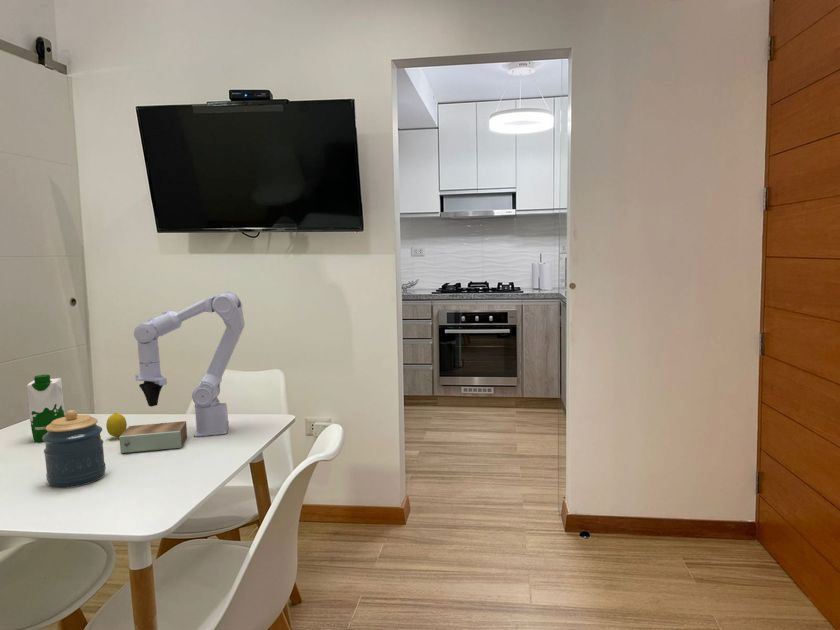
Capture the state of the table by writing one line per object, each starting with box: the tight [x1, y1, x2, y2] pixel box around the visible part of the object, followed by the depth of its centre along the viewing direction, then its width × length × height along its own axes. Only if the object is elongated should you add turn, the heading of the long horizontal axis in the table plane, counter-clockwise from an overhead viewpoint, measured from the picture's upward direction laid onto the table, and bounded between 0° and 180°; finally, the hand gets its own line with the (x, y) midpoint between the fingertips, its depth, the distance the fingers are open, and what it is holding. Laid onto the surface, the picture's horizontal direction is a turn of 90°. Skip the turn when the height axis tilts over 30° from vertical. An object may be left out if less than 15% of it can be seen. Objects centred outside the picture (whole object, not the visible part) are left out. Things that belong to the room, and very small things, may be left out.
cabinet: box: [121, 420, 188, 454], centre depth 176 cm, size 16×10×5 cm, turn 103°
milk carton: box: [26, 374, 66, 444], centre depth 186 cm, size 9×9×20 cm
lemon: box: [105, 412, 128, 439], centre depth 184 cm, size 6×6×8 cm
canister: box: [42, 409, 107, 489], centre depth 150 cm, size 13×13×18 cm
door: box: [118, 431, 183, 454], centre depth 170 cm, size 16×2×5 cm, turn 102°
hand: (153, 405), depth 185 cm, fingers closed
